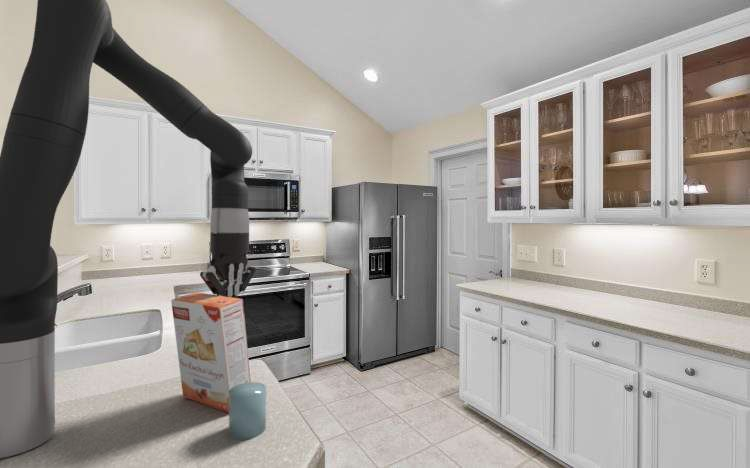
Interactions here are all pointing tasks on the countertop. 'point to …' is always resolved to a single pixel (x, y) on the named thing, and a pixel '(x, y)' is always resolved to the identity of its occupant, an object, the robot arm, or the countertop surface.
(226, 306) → the cracker box
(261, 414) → the pale blue rounded cylinder
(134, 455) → the countertop surface
